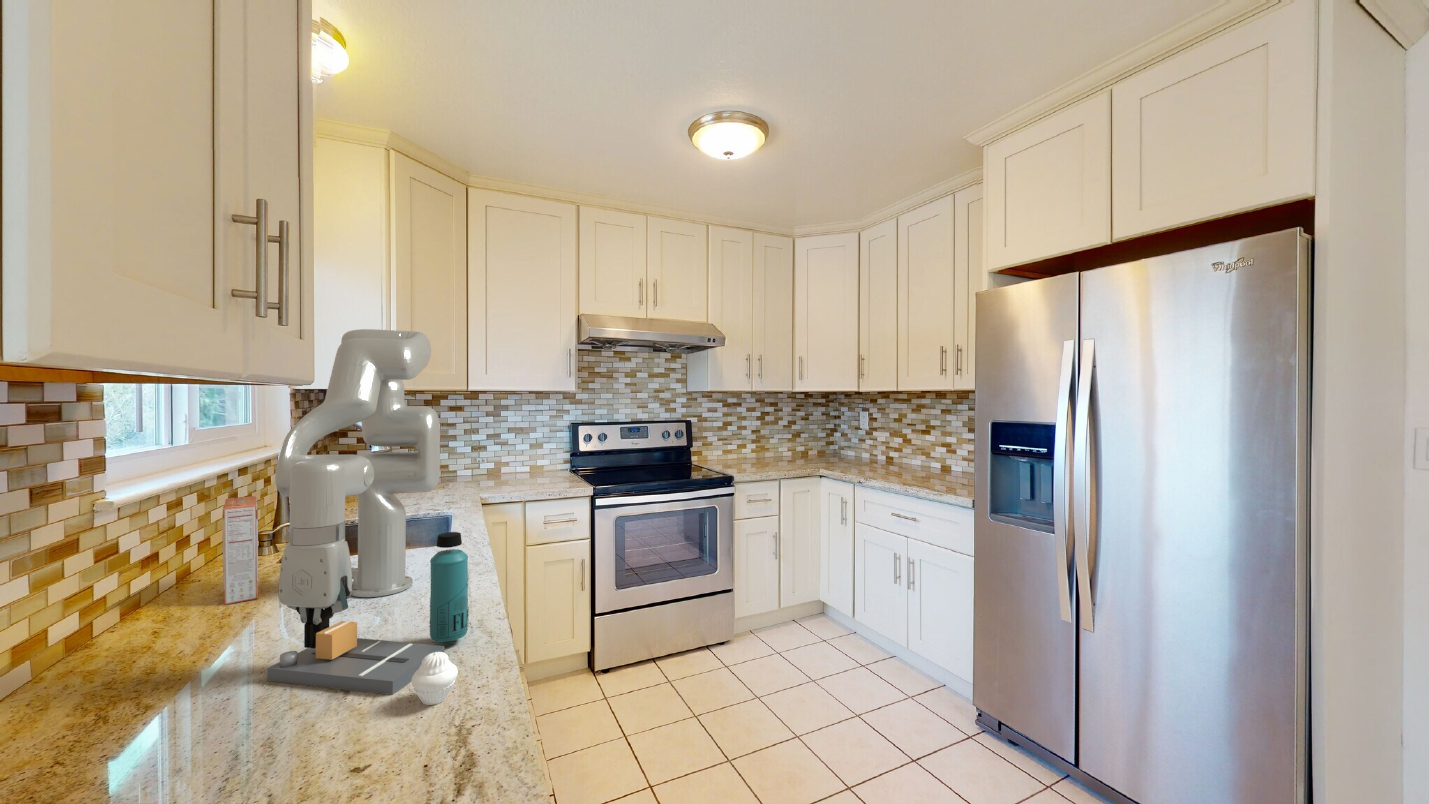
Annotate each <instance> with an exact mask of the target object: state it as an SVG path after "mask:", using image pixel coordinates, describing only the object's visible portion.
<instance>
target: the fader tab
mask: <svg viewBox="0 0 1429 804" xmlns="http://www.w3.org/2000/svg"><path fill="white" fill-rule="evenodd" d="M357 638H358V622H354V621H350V620H347V621H344V620H341V621H339V622H337V623H334V624H333V625H331V626H330V625H329V627H328V628H326V629H324V630H322V631H320V632H318V633H316V658H319V659H329V660H332V659H334V658H336V657H338V656H340V655H342V654H343V653H345V652H347V651H349V650H351V649H353V648H354V647H356V646H357Z"/></svg>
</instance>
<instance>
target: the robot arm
mask: <svg viewBox="0 0 1429 804" xmlns="http://www.w3.org/2000/svg"><path fill="white" fill-rule="evenodd" d="M340 340H341V343H340V345H339V346H338V348H337V350H336V354H335V358H334V360H333V366H332V370H331V374H330V377H329V382H328V385H327V390H326V394H325V397H324V400H323V402H322V403H321V404H320V405H318V406H317V407H315V408H313V409H312V410H311V411H309V412H308V413H306V414H305V415H304V416H303V417H302V418H300V420H299V421H297V423H295V424H294V425H293V426H292V428H291V429H290V430H289V431H288V433H287V434H286V436H285V438H284V440H283V443H282V446H281V450H280V454H279V455H278V459H277V464H276V466H275V467H276V468H275V473H274V474H275V475H274V483H275V487H276V490H277V491H278V492H279V493H280V494H281V495H282V496H285V497H287V498H289V527H288V529H287V532H288V534H289V538H288V539H289V543H286V544H285V547H284V549H283V554H282V558H281V563H280V570H279V579H278V581H279V582H278V601H279V602H280V604H281V605H284V606H287V608H289V609H291V610H294V611H296V612H297V613H298V614H299V616H300V622H301V623H302V624H303V625H304V626H303V627H304V629H303V630H304V631H303V636H304V638H303V639H304V640H303V647H304V648H305V649H307V648H316V633H318V632H320V631H322V630H324V629H326V628H328V627H330V619H332V618H334V615H335V614H337V613H342V612H343V611H346V610H347V609H348V608H349V602H348V599H350V598H351V596H353V597H358V598H375V597H377V598H378V597H385V596H391V595H394V594H398V593H400V592H403V591H406V590H408V589H410V588H411V587H412V585H413V581H414V580H413V578H412V577H410V576H409V575H406V557H407V555H406V554H407V553H406V549H407V548H406V547H407V546H406V544H407V542H406V541H407V539H406V538H407V536H406V535H407V530H406V529H407V512H406V509H405V508H406V507H405V506H404V505H403V503H402V502H401V500H400V499H399V498H398V497H397V496H396V495H397V494H414V493H428V492H432V491H433V490H436V488H437V487H438V485H439V481H440V476H441V430H440V429H441V427H440V426H441V424H440V418H439V415H438V413H437V411H436V410H435V409H433V408H431V407H430V406H423V405H420V406H419V405H406V403H405V384H404V382H403V380H404V381H405V380H407V381H408V380H409V381H410V380H413V379H415V378H416V377H417V376H419V374H420V373H421V372H422V371H424V369H425V368H426V367H427V366H428V364H429V362H430V359H431V356H432V355H431V354H432V345H431V342H430V340H429V338H428V336H427V335H426V334H424V333H423V332H420V331H413V330H393V329H392V330H391V329H389V330H388V329H376V328H375V329H373V328H371V329H370V328H365V329H363V328H362V329H353V330H349V331H347V332H345V333H344V334H343V335H342V337H341V339H340ZM360 422H361V435H362V438H363V441H364V443H365V444H367V445H369V446H372V447H385V448H386V447H387V448H389V447H390V448H391V447H396V448H397V447H413V448H415V449H416V450H417V451H415V452H414V451H409V452H407V451H406V452H401V451H395V452H394V451H393V452H392V451H391V452H389V451H387V452H386V451H385V452H372V453H368V454H364V455H360V454H332V453H331V454H308V453H309V451H310V449H311V448H312V447H313V445H314V444H316V443H317V442H318V441H319V440H320V439H322V438H323V437H325V436H327V435H329V434H332V433H334V432H336V431H340V430H341V429H344V428H347V427H350V426H353V425H355V424H358V423H360ZM395 494H396V495H395ZM355 496H356V498H357V523H358V524H357V567H352V561H351V553H350V548H349V544H348V541H346V497H355ZM405 589H406V590H405Z"/></svg>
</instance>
